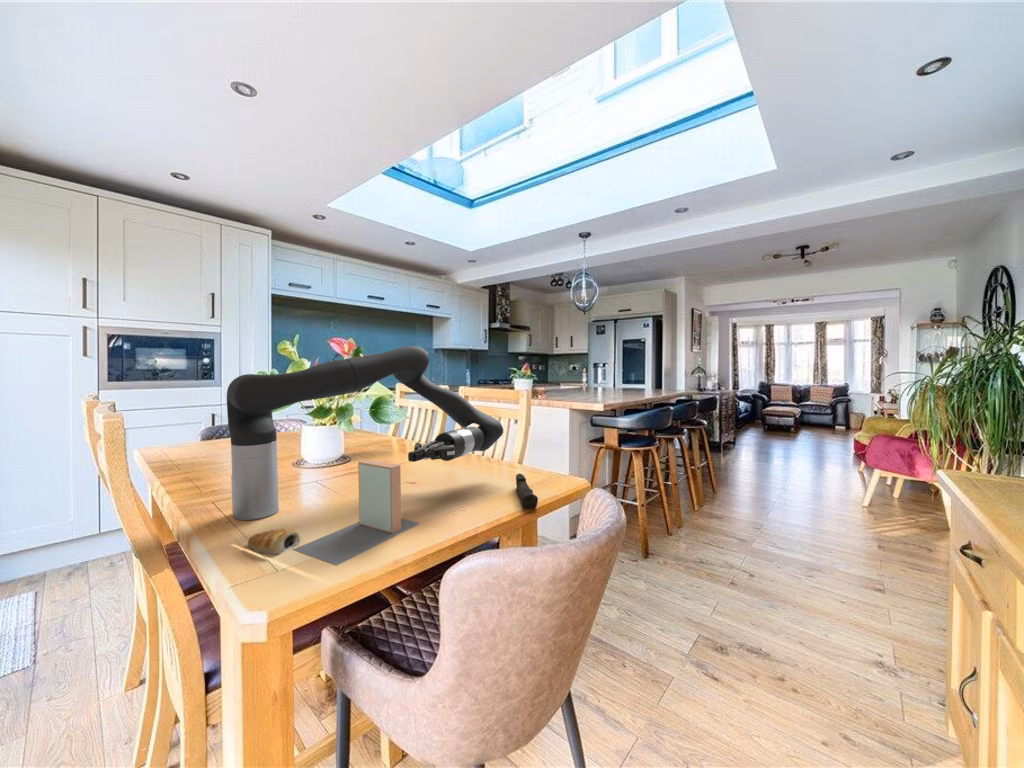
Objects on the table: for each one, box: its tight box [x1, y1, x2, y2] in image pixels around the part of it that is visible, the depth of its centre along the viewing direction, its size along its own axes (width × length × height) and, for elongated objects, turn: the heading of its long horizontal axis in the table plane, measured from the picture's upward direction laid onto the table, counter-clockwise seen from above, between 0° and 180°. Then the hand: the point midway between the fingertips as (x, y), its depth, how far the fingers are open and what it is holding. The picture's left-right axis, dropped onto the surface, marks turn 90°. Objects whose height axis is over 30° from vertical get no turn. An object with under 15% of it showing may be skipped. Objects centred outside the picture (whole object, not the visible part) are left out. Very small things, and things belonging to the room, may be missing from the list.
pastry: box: [247, 528, 301, 556], centre depth 81 cm, size 9×7×4 cm
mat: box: [292, 517, 421, 566], centre depth 86 cm, size 12×22×1 cm, turn 151°
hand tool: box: [515, 473, 539, 510], centre depth 112 cm, size 19×4×5 cm, turn 5°
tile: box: [357, 459, 402, 534], centre depth 90 cm, size 10×3×14 cm, turn 61°
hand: (410, 457), depth 98 cm, fingers closed
